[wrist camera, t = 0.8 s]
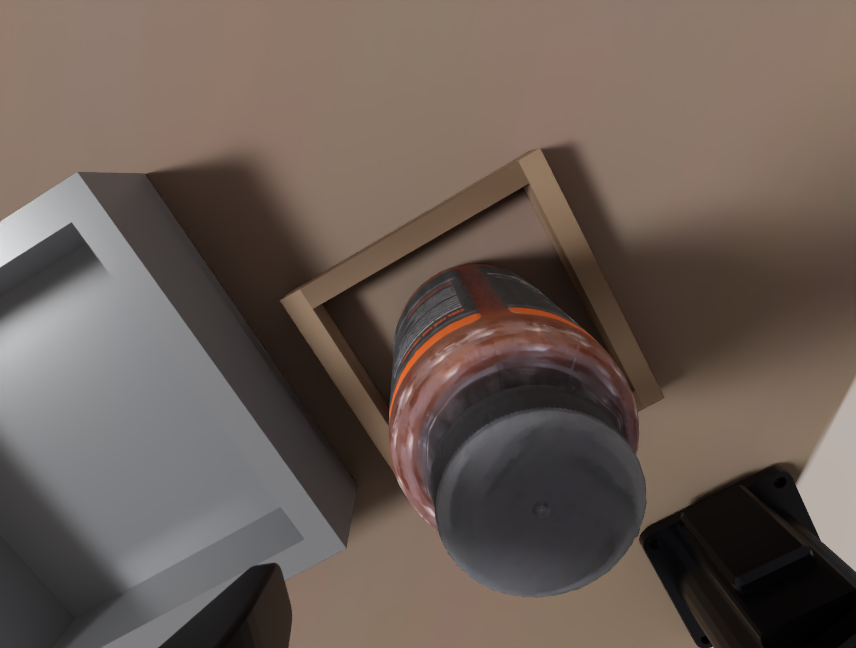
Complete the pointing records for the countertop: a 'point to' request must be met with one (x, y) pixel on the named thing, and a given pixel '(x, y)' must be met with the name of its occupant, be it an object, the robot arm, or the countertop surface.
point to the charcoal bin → (140, 428)
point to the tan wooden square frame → (453, 211)
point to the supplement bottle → (513, 433)
